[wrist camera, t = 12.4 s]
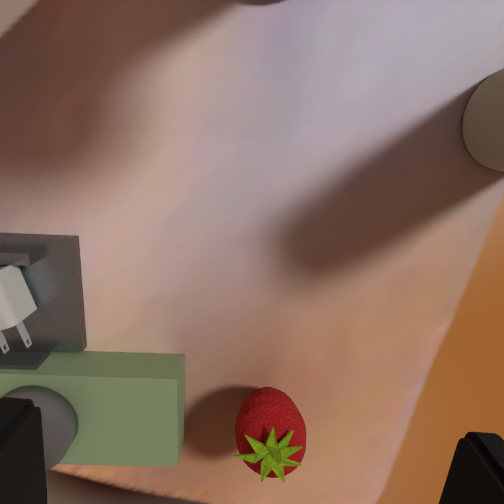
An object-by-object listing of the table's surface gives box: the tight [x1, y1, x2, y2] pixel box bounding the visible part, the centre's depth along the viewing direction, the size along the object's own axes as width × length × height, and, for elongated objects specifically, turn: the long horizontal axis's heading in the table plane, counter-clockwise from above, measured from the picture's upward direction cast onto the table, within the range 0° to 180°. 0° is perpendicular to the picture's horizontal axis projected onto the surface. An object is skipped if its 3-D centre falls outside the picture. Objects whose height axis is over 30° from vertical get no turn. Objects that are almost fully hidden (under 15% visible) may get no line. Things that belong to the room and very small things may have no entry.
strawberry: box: [234, 387, 306, 483], centre depth 33 cm, size 6×8×10 cm
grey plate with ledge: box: [0, 233, 87, 352], centre depth 34 cm, size 10×12×2 cm
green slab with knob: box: [0, 349, 184, 470], centre depth 35 cm, size 9×24×6 cm, turn 87°
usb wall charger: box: [0, 265, 37, 354], centre depth 32 cm, size 4×7×4 cm, turn 15°
